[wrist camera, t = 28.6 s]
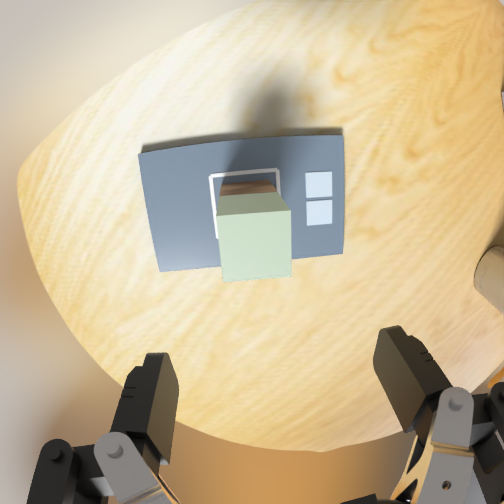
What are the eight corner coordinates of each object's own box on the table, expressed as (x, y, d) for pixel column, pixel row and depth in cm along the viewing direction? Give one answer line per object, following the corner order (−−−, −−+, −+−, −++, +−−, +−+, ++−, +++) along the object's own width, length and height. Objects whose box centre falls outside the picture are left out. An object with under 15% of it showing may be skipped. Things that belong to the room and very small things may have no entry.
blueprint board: (340, 135, 30) (343, 135, 29) (340, 250, 36) (343, 254, 35) (140, 153, 29) (137, 154, 28) (161, 268, 35) (159, 272, 34)
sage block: (277, 191, 25) (290, 210, 20) (279, 245, 27) (291, 276, 22) (219, 196, 25) (215, 216, 19) (224, 249, 27) (223, 282, 21)
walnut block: (268, 179, 31) (277, 191, 25) (271, 224, 33) (280, 244, 27) (221, 183, 30) (219, 196, 25) (226, 228, 32) (225, 250, 27)
